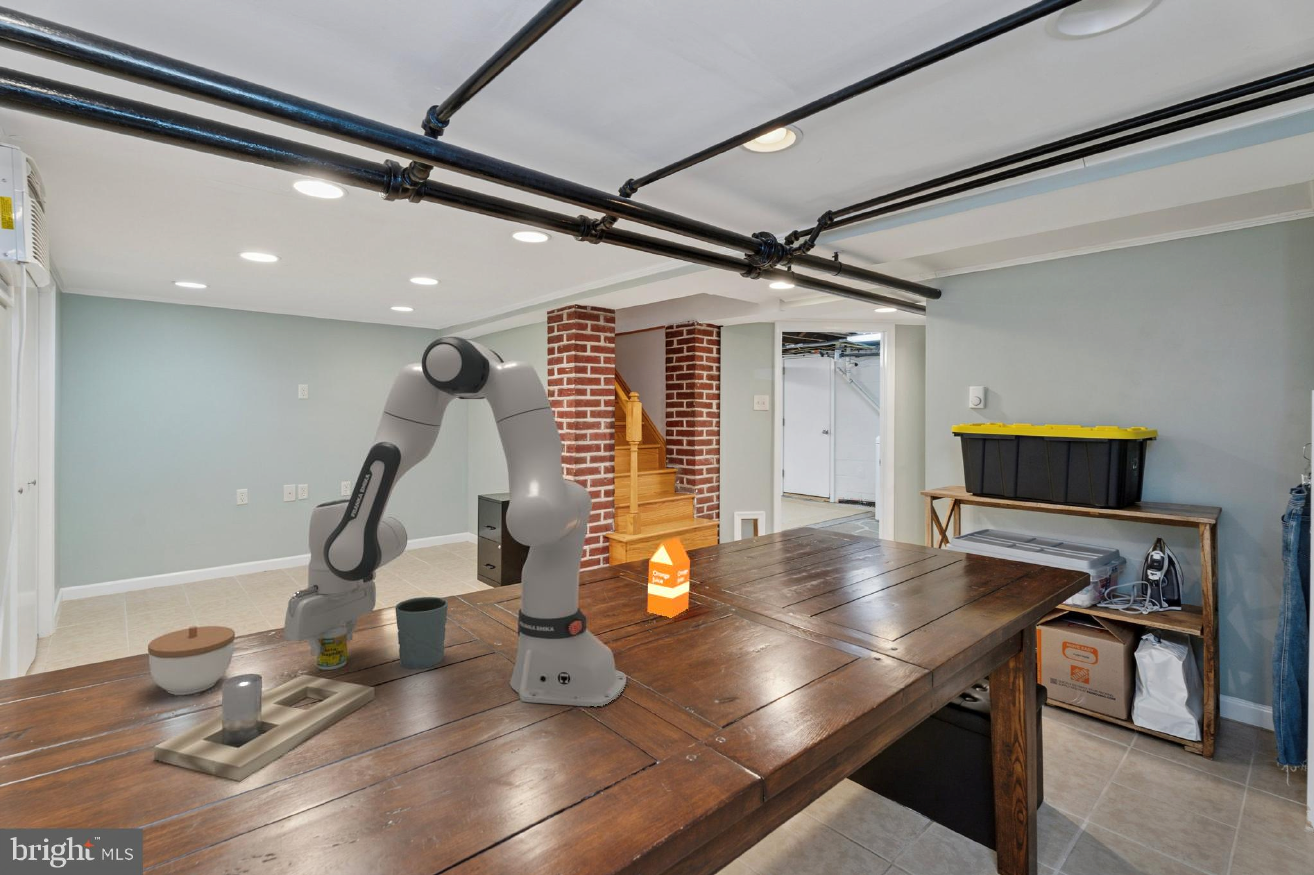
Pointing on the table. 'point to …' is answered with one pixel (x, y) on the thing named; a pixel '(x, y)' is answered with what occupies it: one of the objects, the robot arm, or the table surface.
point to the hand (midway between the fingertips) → (332, 647)
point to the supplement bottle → (333, 647)
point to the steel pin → (241, 709)
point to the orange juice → (668, 579)
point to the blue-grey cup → (421, 631)
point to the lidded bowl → (191, 658)
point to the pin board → (266, 728)
